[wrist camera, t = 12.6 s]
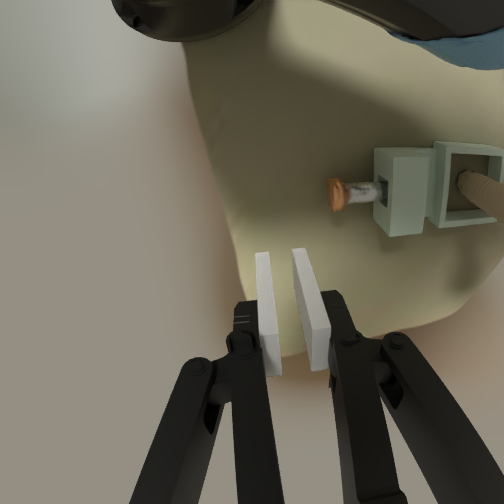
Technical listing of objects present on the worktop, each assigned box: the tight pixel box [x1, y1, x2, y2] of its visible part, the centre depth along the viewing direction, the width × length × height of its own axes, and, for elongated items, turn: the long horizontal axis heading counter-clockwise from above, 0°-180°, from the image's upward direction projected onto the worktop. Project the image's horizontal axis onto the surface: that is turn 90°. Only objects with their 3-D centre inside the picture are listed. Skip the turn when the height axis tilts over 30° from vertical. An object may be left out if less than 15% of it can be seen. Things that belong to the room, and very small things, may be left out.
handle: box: [456, 170, 504, 223], centre depth 22 cm, size 5×6×15 cm
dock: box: [373, 141, 504, 237], centre depth 27 cm, size 10×18×5 cm, turn 97°
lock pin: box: [327, 178, 388, 212], centre depth 28 cm, size 3×7×3 cm, turn 97°
